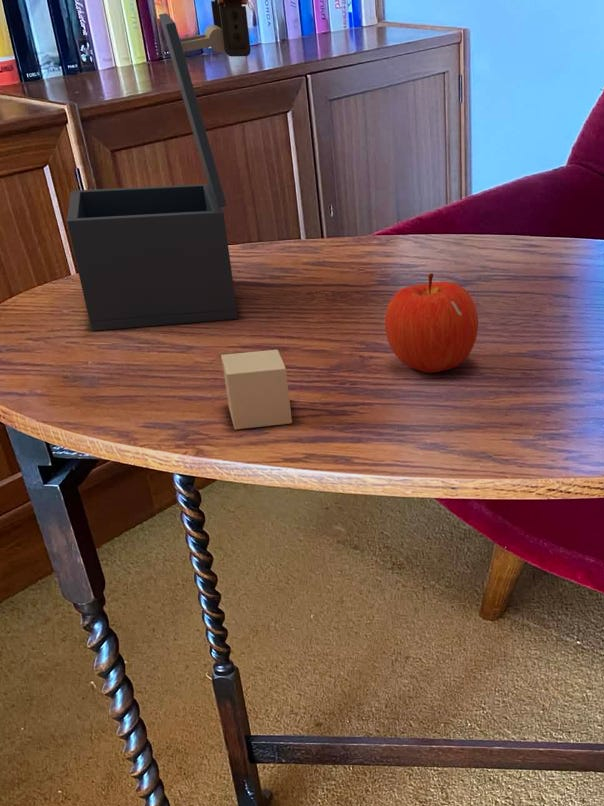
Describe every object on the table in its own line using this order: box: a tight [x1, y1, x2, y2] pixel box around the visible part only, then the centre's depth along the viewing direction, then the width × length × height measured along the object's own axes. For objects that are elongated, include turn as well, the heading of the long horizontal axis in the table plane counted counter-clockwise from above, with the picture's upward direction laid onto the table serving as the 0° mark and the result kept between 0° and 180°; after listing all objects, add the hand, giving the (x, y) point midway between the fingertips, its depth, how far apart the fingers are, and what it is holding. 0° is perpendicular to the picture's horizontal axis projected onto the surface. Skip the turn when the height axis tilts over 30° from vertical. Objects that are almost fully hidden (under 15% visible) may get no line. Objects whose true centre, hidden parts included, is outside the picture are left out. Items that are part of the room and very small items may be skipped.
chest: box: [66, 183, 239, 332], centre depth 96 cm, size 14×14×10 cm
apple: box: [384, 272, 479, 374], centre depth 83 cm, size 8×8×8 cm
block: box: [220, 349, 293, 430], centre depth 74 cm, size 4×4×4 cm
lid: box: [158, 13, 228, 208], centre depth 90 cm, size 15×14×5 cm
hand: (233, 51), depth 88 cm, fingers open, 8 cm apart
